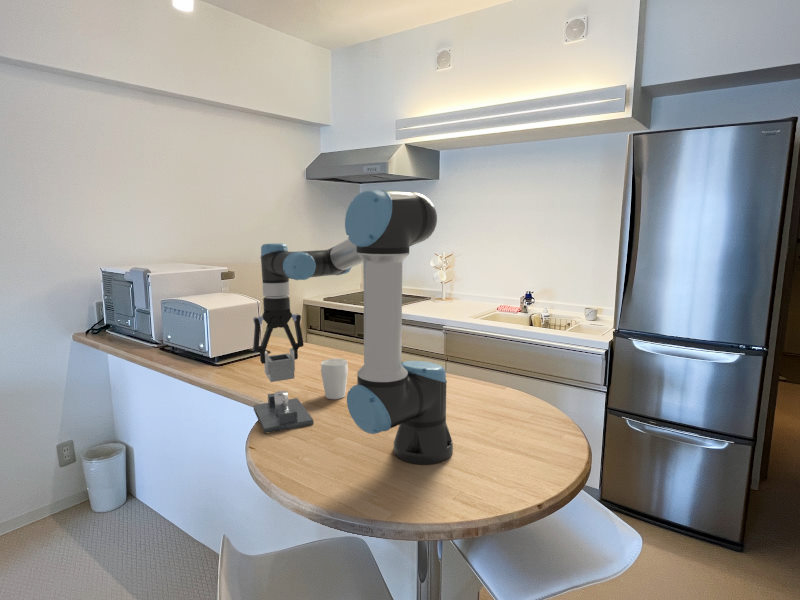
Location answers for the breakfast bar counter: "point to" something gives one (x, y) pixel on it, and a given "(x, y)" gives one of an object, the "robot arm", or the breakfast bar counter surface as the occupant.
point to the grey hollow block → (280, 367)
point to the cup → (334, 377)
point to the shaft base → (282, 413)
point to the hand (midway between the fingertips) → (279, 371)
